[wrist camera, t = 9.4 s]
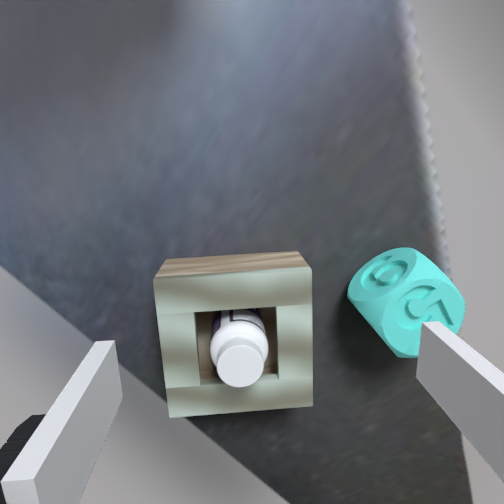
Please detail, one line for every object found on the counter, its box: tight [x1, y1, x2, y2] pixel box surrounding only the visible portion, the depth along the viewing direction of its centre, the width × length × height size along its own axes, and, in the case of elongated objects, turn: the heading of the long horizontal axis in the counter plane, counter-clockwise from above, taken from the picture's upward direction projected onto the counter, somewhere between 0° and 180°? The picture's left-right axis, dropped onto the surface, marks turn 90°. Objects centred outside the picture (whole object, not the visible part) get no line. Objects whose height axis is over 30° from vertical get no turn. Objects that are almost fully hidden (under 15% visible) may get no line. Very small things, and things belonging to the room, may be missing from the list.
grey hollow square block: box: [153, 251, 313, 418], centre depth 37 cm, size 14×14×7 cm
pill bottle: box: [210, 308, 268, 387], centre depth 35 cm, size 5×5×10 cm
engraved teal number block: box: [347, 248, 465, 358], centre depth 37 cm, size 8×8×8 cm
